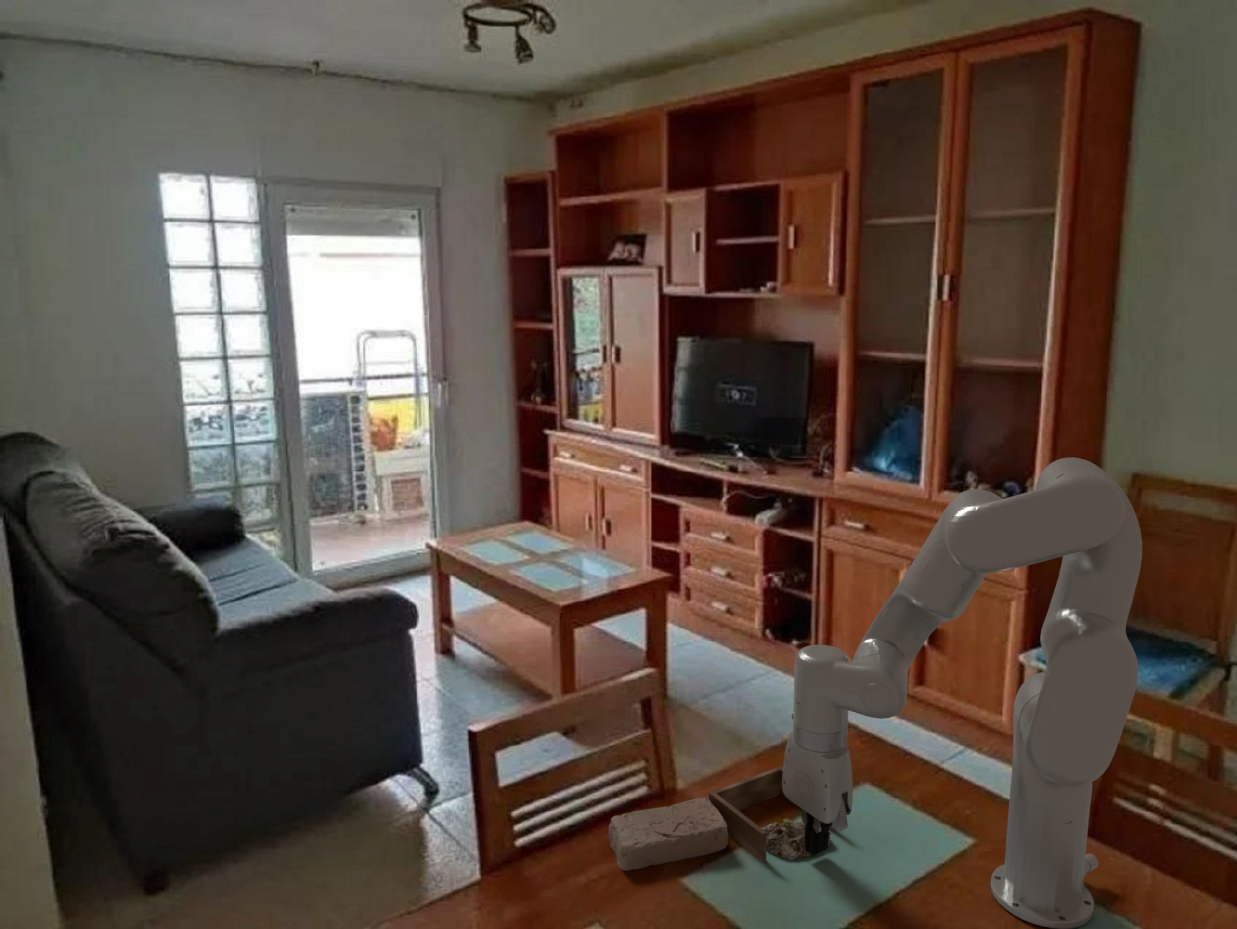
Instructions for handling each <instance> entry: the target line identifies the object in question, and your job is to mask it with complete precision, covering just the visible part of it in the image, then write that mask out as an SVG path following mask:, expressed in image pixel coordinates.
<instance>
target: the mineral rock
mask: <svg viewBox="0 0 1237 929" xmlns="http://www.w3.org/2000/svg"><path fill="white" fill-rule="evenodd" d="M805 826H806V824H804V823H803V822H802V821H801V822H795V823H794V821H793V819H789V818H788V817H787V818H784V819H782V822H780V821H774V822H772V823H767V825H766V826H762V827H761V828H762V829H763V830H764V831H765V832H767V844H766V852H768V853H770V854H773V855H774V856H778V857H782V858H784V859H785V860H788V861H792V860H794V859H798V858H807V857H810V856H812V855H811V854H810V852H807V851H806V850H805V849H804V845H805ZM831 835H832V834H831V832H830V831H829V843H828V846H829V845H830V843H831Z"/></svg>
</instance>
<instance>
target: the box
mask: <svg viewBox="0 0 1237 929" xmlns="http://www.w3.org/2000/svg"><path fill="white" fill-rule="evenodd" d="M782 777H783V766H781V765H780V766H778V767H775V768H771V769H769V770H767V771H766V770H765V771H764V772H761V773H758V774H755V775H753V776H750V777H747V778H745V779H742V780H740V781H739V780H738V781H737V782H734V783H731V784H729V785H725V786H723V787H721V788H717V789H715V790H712V791H710V792H708V799H709V800H710V802H711V803H712V804H713V806H714V807H715V808H717V810H718V811H719V813H720V814H721V816H722V817H723V819H724V821H725V822H726V824H727V831H728V837H730V838H731V839H733V841H735V842H737V843H738V844H739V845H741V847H742V848H744V849H745V850H746V851H748V852H749V853H750V854H751V855H752V856H754V857H755V858H756V859H758V860H759V861H760V862H761V863H764V862H766V861H767V848H766V844H767V832H765V831H764V830H763V829H762V828H763V827H760V826H759V825H758V824H757V823H755V822H754V821H752V820H751V819H750V818H748V817H747V816H746V815H745V814H743V813H742V812H741V811H742V810H744V809H748V808H750V807H752V806H754V805H758V804H759V803H763V802H765V801H767V800H770V799H773V798H776V797H777V796H781V797H782V798H784V799H785V800H786V801H788V802H790V804H792V805H794V806H795V807H797V808H798V809H799V810H800V808H799V806H798V805H796V804H795V803H793V802H792V801H791V800H789V799H788V798H787V797H786V796H785V795H784V793H783V790H782ZM829 831H831V832H834V831H837V830H836V829H833V828H832V827H830V828H829Z"/></svg>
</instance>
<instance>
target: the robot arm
mask: <svg viewBox="0 0 1237 929" xmlns="http://www.w3.org/2000/svg"><path fill="white" fill-rule="evenodd" d="M1142 557H1143V538H1142V533H1141V527H1140V523H1139V519H1138V518H1137V514H1136V512H1135V510H1134V507H1133V506H1132V503H1131V501H1130V500H1129V498H1128V496H1127V495H1126V493H1125V491H1124V490H1123V488H1121V486H1120V485H1119V484H1118V483H1117V482H1116V481H1115V480H1114V478H1113V477H1112V476H1110V475H1109V474H1108V473H1107V472H1106V471H1104V470H1103V469H1102V468H1100V467H1099V466H1098V465H1096V464H1094V463H1093V462H1092V461H1089V460H1087V459H1082V458H1080V457H1063V458H1062V457H1061V458H1060V459H1059V458H1058V459H1057V460H1054V461H1052V462H1051V463H1049V464H1048V465H1047V466H1045V468H1044V469H1043V470H1042V471H1041V473H1040V474H1039V476H1038V478H1037V481H1036V485H1035V489H1033V490H1031V491H1027V492H1024V493H1020V494H1017V495H1013V496H1009V497H1006V498H1002V497H1000V496H999V495H998V494H996V493H993V492H991V491H989V490H985V489H980V488H976V489H975V488H971V489H967V490H965V491H962V492H960V493H959V494H957V495H956V496H955V497H954V498H952V499H951V501H950V502H949V503H948V505H947V506H946V507H945V509H944V510H943V512H942V514H941V515H940V517H939V518H938V520H937V521H936V523H935V525H934V526H933V529H931V532H930V533H929V535H928V536H927V539H926V540H925V542H924V543H923V545H922V547H921V548H920V550H919V552H918V553H917V554H916V556H915V559H914V560H913V561H912V563H911V564H910V566H909V567H908V570H906V572H905V574H904V576H903V577H902V579H901V580H900V581H899V583H898V584H897V586H896V587H895V588H894V591H892V593H891V595H890V596H889V597H888V599H887V600H886V601H885V602H884V604H883V605H882V607H881V608H880V609H879V611H878V613H877V615H876V616H875V618H874V619H873V621H872V623H871V624H870V626H869V628H868V630H867V631H866V633H865V634H864V635H863V638H862V639H861V641H860V642H859V645H858V646H857V648H856V650H855V652H854V656H853V660H852V661H850V658H849V657H848V655H847V653H846V652H844V651H843V650H842V649H840V648H838V647H835V646H832V645H827V644H810V645H807V646H804V647H802V648H800V649H799V650H798V651H797V653H796V655H795V658H794V669H793V670H794V673H793V676H794V677H793V678H794V679H793V710H792V711H793V713H792V714H791V719H792V732H790V733H789V735H788V738H787V741H786V742H787V743H786V747H785V751H784V758H783V766H782V767H783V777H782V790H783V793H784V795H785V796H786V797H787V798H788V799H789V800H791V801H792V802H793V803H795V804H796V805H798V806H799V808H800V809H799V808H798V809H799V810H800V814H801V822H803V823H804V824H806V826H805V845H804V849H805V850H806V851H807V852H810V854H811V855H810V856H813V857H814V856H816V855H818V854H820V853H823V852H825V851H827V850H828V849H829V845H828V843H829V832H830V830H829V828H830V827H832V828H833V829H836V830H835V831H839V832H842V831H843V830H846V829H848V828H849V824H848V818H847V816H849V815H851V812H852V809H853V808H852V807H853V797H854V796H853V794H854V792H853V791H854V787H853V786H854V784H853V783H854V782H853V771H852V770H853V769H852V760H851V754H850V749H849V748H848V729H849V712H852V713H855V714H858V715H861V716H864V717H869V718H872V719H881V720H883V719H889V718H893V717H895V716H897V715H898V714H899V713H901V711H902V710H903V709H904V707H905V705H906V702H907V698H908V675H909V674H908V672H909V669H910V666H911V664H912V663H913V661H914V660H915V658H916V657H917V655H918V653H919V652H920V650H921V649H922V647H923V646H924V644H925V642H927V640H928V638H929V637H930V635H931V634H932V633H934V631H935V630H936V629H937V628H938V627H939V626H941V624H943V623H946V622H951V621H953V620H956V619H957V618H959V617H960V616H962V614H963V613H964V611H965V610H966V608H967V606H968V605H969V603H970V601H971V600H972V598H973V597H974V595H975V594H976V592H977V590H978V589H979V587H980V586H981V584H982V583H983V581H984V580H985V578H986V577H987V575H988V574H993V573H1000V572H1006V571H1009V570H1014V569H1019V568H1023V567H1027V566H1030V565H1034V564H1039V563H1042V562H1046V561H1049V560H1050V561H1051V560H1054V559H1057V558H1058V559H1059V558H1062V561H1061V566H1060V569H1059V574H1058V579H1057V581H1056V586H1055V587H1054V591H1053V594H1052V598H1051V601H1050V603H1049V607H1048V610H1047V613H1046V616H1045V618H1044V621H1043V624H1042V627H1041V632H1040V646H1041V649H1042V653H1043V656H1044V659H1045V663H1046V669H1045V671H1041V672H1039V673H1036V674H1033V675H1031V676H1030V677H1029V678H1028V679H1026V680H1025V681H1024V682H1023V683H1022V684H1021V685H1020V688H1019V689H1018V691H1017V692H1016V696H1015V700H1014V705H1013V717H1012V719H1013V720H1012V721H1013V722H1012V724H1013V725H1012V726H1013V730H1012V731H1013V733H1012V734H1013V735H1012V736H1013V738H1012V739H1013V744H1012V746H1013V747H1012V764H1011V776H1010V777H1011V779H1010V780H1011V781H1010V789H1009V790H1010V791H1009V801H1008V804H1009V805H1008V815H1007V816H1008V817H1007V828H1006V829H1007V830H1006V844H1005V855H1004V856H1005V857H1004V864H1002V865H999V866H998V867H996V868H995V870H994V871H993V872H992V874H991V877H990V890H991V893H992V895H993V897H994V898H995V899H996V900H997V902H998V904H999V905H1001V906H1002V907H1003V908H1004V909H1005V910H1006V911H1008V912H1009V913H1011V914H1012V915H1014V916H1015V917H1016V918H1019V919H1021V920H1023V921H1025V922H1028V923H1030V924H1032V925H1033V924H1034V925H1037V926H1040V927H1044V928H1045V927H1046V928H1049V929H1075V928H1079V927H1081V926H1083V925H1085V924H1087V923H1088V922H1089V921H1090V920H1091V919H1092V917H1093V915H1094V909H1095V900H1094V899H1093V895H1092V894H1091V892H1090V891H1089V889H1088V888H1087V887H1086V885H1084V881H1085V878H1086V877H1087V874H1088V873H1089V872H1092V871H1093V870H1096V869H1097V868H1098V867H1099V864H1100V863H1099V860H1098V858H1097V857H1096V856H1095V855H1094V854H1093V853H1087V854H1086V851H1087V843H1088V842H1087V839H1088V833H1089V832H1088V830H1089V820H1090V819H1089V818H1090V811H1091V810H1090V808H1091V802H1092V793H1093V782H1094V781H1096V780H1097V779H1099V778H1100V777H1101V776H1102V775H1103V774H1104V773H1105V772H1106V770H1107V769H1108V768H1109V766H1110V764H1111V762H1112V760H1113V758H1114V755H1115V753H1116V750H1117V747H1118V744H1119V742H1120V738H1121V736H1122V733H1123V730H1124V727H1125V724H1126V720H1127V718H1128V715H1129V712H1130V709H1131V705H1132V704H1133V703H1132V702H1133V699H1134V696H1135V693H1136V690H1137V685H1138V679H1139V678H1138V676H1139V664H1138V659H1137V655H1136V652H1135V650H1134V647H1133V645H1132V644H1131V642H1130V640H1129V638H1128V636H1127V632H1126V629H1127V628H1126V627H1127V621H1128V618H1129V614H1130V610H1131V608H1132V604H1133V600H1134V596H1135V591H1136V588H1137V584H1138V580H1139V576H1140V571H1141V566H1142V560H1143V558H1142Z"/></svg>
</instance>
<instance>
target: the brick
mask: <svg viewBox="0 0 1237 929" xmlns="http://www.w3.org/2000/svg"><path fill="white" fill-rule="evenodd" d="M608 838H609V845H610V848H611V850H613V852H614V855H615V859H616V860H617V862H616V863H617V865H618V866H619V869H620V870H621V871H626V872H628V871H633V870H634V871H635V870H638V869H639V870H640V869H644V868H647V867H649V866H656V865H662V864H667V863H670V862H677V861H682V860H685V859H691V858H695V857H701V856H706V855H710V854H712V853H716V852H719V851H722V850H724V849H726V847H727V846H728V843H729V835H728V831H727V824H726V822H725V821H724V819H723V817H722V816H721V814H720V813H719V811H718V810H717V808H715V807H714V806H713V804H712V803H711V802H710V800H709V797H702V798H699V797H698V798H692V799H690V800H685V801H681V802H678V803H674V804H672V805H670V806H663V807H656V808H649V809H640V810H634V811H631V812H629V813H628V812H626V813H622V814H621V815H614V816H612V817H611V819H610V824H609V825H608Z"/></svg>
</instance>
